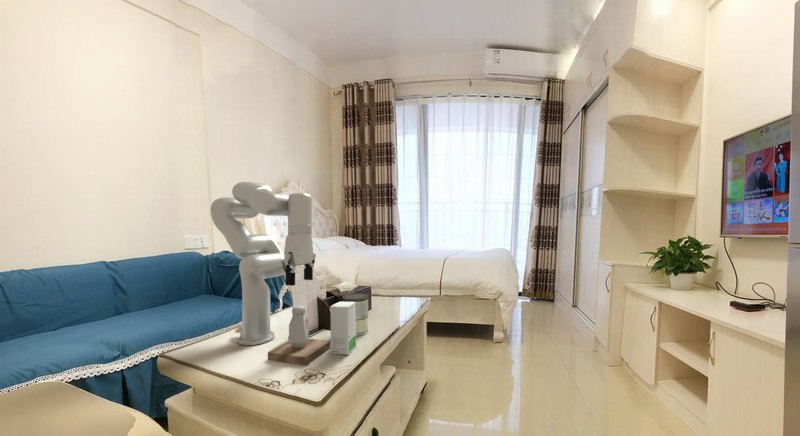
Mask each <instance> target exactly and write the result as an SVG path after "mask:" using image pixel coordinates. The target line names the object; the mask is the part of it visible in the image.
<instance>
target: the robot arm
mask: <svg viewBox="0 0 800 436" xmlns="http://www.w3.org/2000/svg"><path fill="white" fill-rule="evenodd" d="M231 194H232V196H233V197H229V196H227V197H220V198H219V197H218V198H217V199H215V200H213V201H212V203H211V204H210V217H211V220H212V222H213V224H214V226H215V228H217V230H218V231H219V233H221V234H222V235H223V238H225V240H226V242H227V244H228V246H229V248H230V249H231V251H232V253H234V255H235V256H236V258H237V259H241V260H240V262H239V265H238V270H239V275H240V281H241V292H242V293H241V296H242V297H241V300H242V304H241V306H242V307H241V310H242V311H241V313H242V314H241V316H242V318H241V319H242V321H241V322H242V325H238V327H237V328H235V330H234V331H235V333H236V334H239V336H238V338H237V344H239V345H243V346H255V345H261V344H266V343H268V342H270V341H272V340H274V338H275V335H276V334H275V332H273V331H271V289H270V287H269V285H268V284H267V283H266V281H265V279H270V278H277V277H281V276H283V275H284V274H285V286H291V287H293V286H295V285H296V272H295V271H296V268H297V267H300V266H304V268H303V280H304V281H313V280H314V279H313V278H314V275H313V273H314V268H315V265H314V264H315V262H316V253H314V245H313V236H312V235H313V234H312V233H313V232H312V231H313V230H312V229H313V227H312V224H313V223H312V221H313V219H312V216H313V215H312V212H313V211H312V210H313V209H312V208H313V204H312V203H313V202H312V200H313V199H312V196H311V194H309V193H303V192H302V193H301V192H294V193H279V192H278V193H277V192H273V190H272V188H271V187H270V186H269V185H268V184H265V183H261V182H260V183H259V182H252V181H251V182H250V181H240V182H238V183H236V184H234V186H233V187H232V190H231ZM259 214H261V215H265V216H276V217H277V216H279V217H280V216H281V217H282V216H283V217H287V235H286V238H285V241H284V252H283V250H282V248H281V247H280V246H279V245H278V243H277V242H276V240H275V238H273V236H270V235H268V234H263V233H262V234H259V233H257V234H253V233H251V232H250V231H249V230H248V228H247V227H246V225H245V224H244V223H242V222H241V221H239V220H238V219H254V218H255V217H257V216H258V215H259Z"/></svg>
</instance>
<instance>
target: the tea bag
mask: <svg viewBox="0 0 800 436" xmlns="http://www.w3.org/2000/svg"><path fill="white" fill-rule="evenodd" d="M304 318H305V323H306V329H307V335H308V337H310V328H309V327H310V325H309V324H310V321H309V317H308V314H307V313H306V312H305V313H304ZM293 319H294V315H293V314H292V317H291V319H290V321H289V324H288V341H289V340H290V335H291V329H292V324H293Z"/></svg>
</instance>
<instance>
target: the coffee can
mask: <svg viewBox="0 0 800 436" xmlns="http://www.w3.org/2000/svg"><path fill="white" fill-rule="evenodd" d="M341 298H342V302H355V308H356V337H357V336H363V335H365V334H367V333H368V332H369V295H368V294H367V293H362V292H361V293H359V292H358V293H357V292H354V293H353V292H352V293H347V294H344V295H342V297H341Z"/></svg>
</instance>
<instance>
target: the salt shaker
mask: <svg viewBox="0 0 800 436" xmlns="http://www.w3.org/2000/svg"><path fill="white" fill-rule="evenodd" d="M306 311H307V309H306V307H305V306H304V305H295V306H293V308H292V309H291V314H292V316H293V315H294V319H293V324H292V329H291V335H290V340H289V339H288V341H290V343H291V345H292V347H293V348H296V349H299V348H303V347H304V346H305V345H306V343H307V340H308V339H309V336H308V335H307V329H306V323H305V318H304V313H305V312H306Z"/></svg>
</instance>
